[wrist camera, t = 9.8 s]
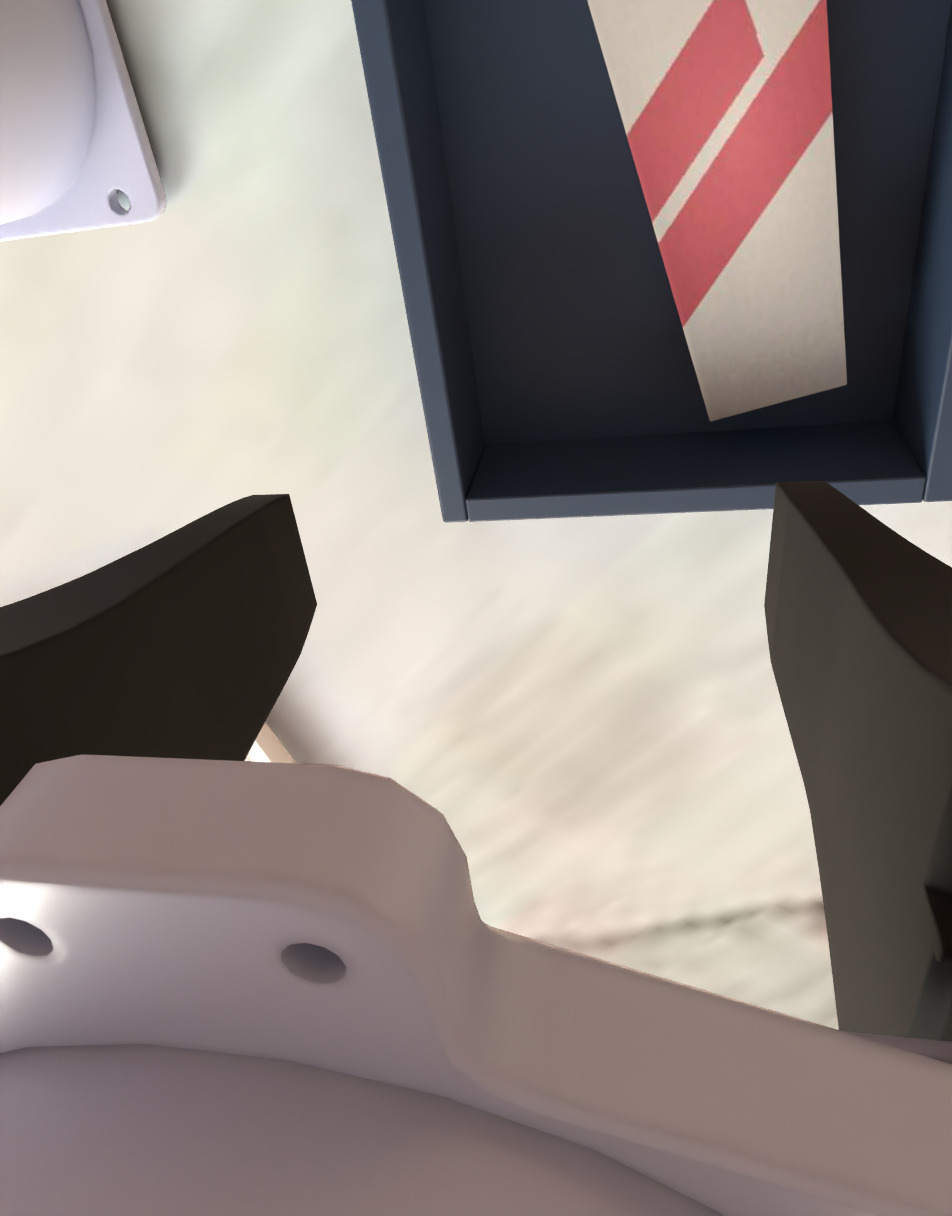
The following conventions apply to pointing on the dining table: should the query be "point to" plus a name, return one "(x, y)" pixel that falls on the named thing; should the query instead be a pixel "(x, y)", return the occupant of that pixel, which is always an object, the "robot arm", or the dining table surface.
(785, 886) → the dining table surface
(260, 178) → the dining table surface
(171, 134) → the dining table surface
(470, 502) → the tray
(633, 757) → the dining table surface
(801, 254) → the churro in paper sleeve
